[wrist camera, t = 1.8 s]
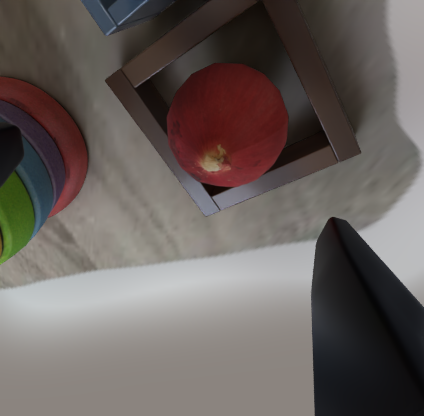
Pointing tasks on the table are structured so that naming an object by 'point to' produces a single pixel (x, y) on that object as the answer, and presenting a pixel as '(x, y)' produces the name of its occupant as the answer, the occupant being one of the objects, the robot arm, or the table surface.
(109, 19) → the blue open box
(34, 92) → the stacking bear
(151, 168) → the table surface
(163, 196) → the table surface
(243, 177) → the red round fruit
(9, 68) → the table surface
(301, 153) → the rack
